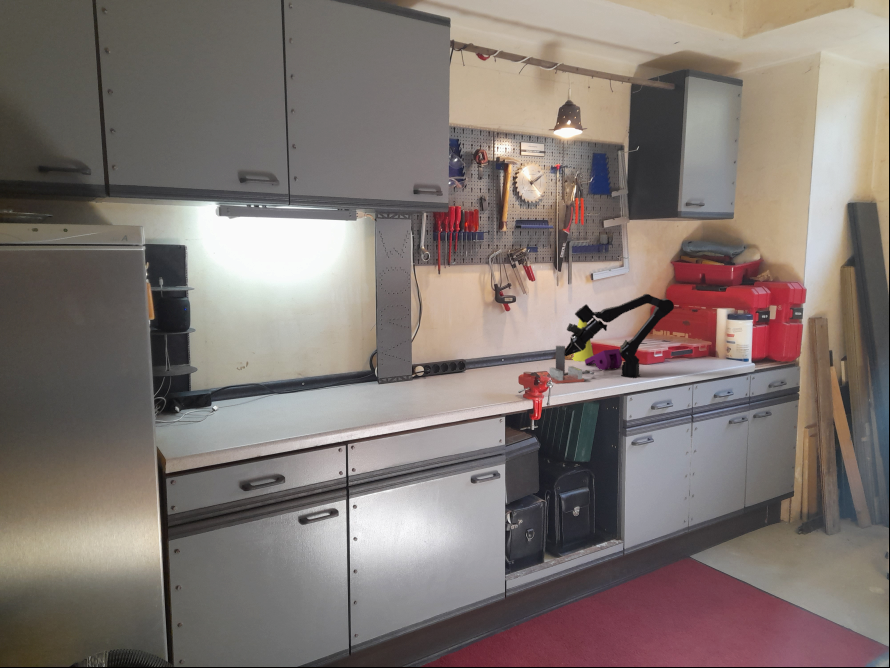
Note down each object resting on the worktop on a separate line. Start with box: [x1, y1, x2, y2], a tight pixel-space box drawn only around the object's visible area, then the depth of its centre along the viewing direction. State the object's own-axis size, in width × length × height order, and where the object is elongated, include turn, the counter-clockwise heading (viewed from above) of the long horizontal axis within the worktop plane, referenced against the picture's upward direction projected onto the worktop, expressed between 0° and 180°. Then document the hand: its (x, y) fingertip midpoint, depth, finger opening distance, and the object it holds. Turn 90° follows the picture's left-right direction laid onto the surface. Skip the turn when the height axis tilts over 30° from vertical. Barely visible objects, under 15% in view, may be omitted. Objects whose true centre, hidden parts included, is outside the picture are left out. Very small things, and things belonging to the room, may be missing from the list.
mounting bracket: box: [584, 348, 623, 371], centre depth 284 cm, size 9×8×18 cm
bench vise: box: [549, 365, 595, 384], centre depth 254 cm, size 18×9×5 cm, turn 105°
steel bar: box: [555, 345, 566, 376], centre depth 266 cm, size 4×4×13 cm
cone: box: [572, 318, 594, 362], centre depth 305 cm, size 12×12×25 cm
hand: (564, 353), depth 266 cm, fingers open, 9 cm apart
